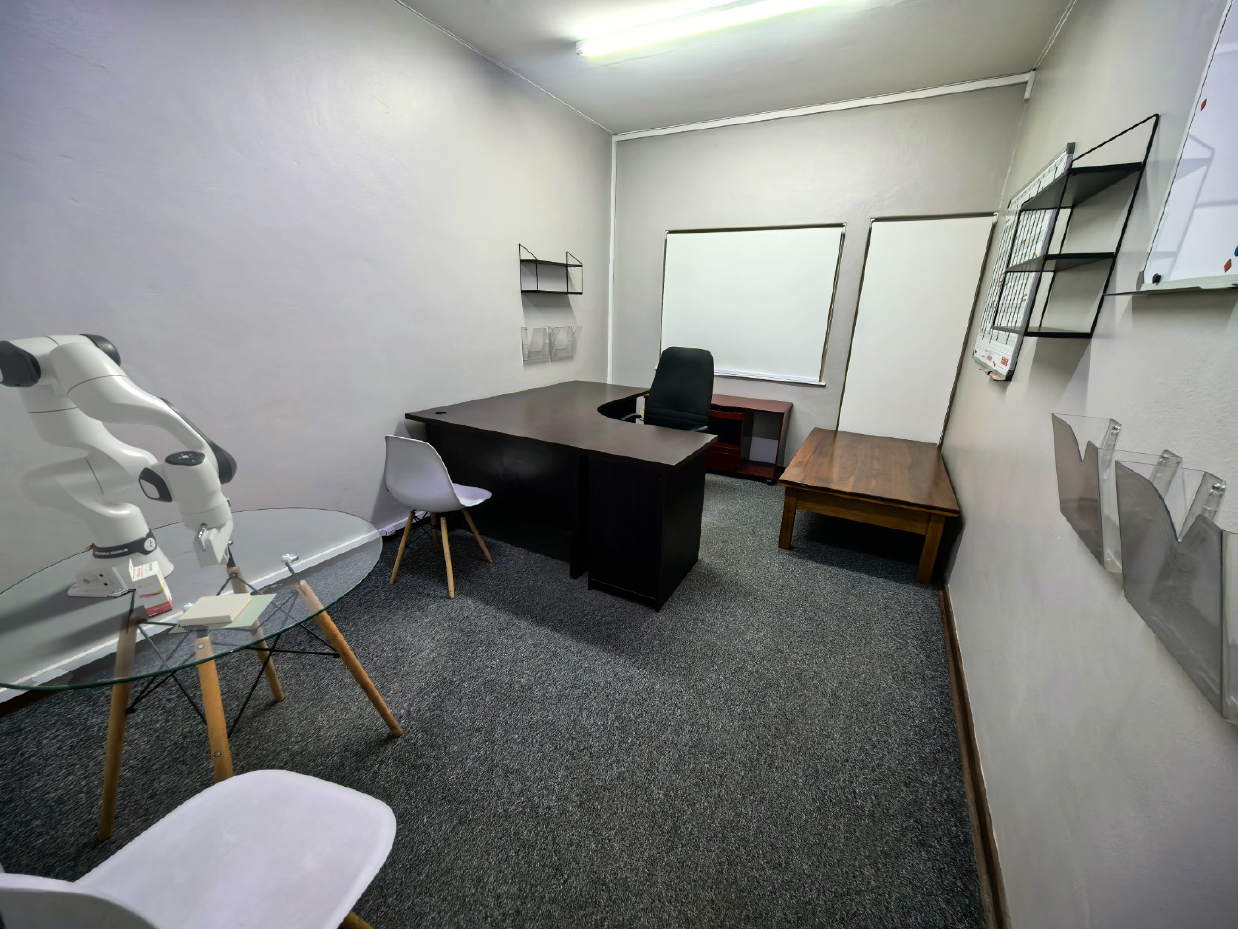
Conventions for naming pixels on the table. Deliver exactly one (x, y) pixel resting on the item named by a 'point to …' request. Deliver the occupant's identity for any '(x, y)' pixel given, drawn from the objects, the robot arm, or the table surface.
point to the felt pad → (241, 614)
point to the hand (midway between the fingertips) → (224, 561)
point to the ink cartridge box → (151, 587)
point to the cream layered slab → (215, 609)
